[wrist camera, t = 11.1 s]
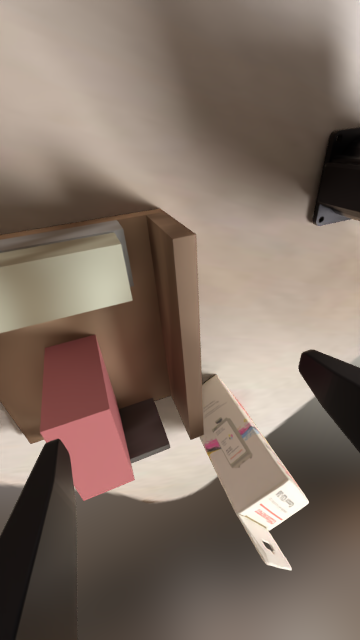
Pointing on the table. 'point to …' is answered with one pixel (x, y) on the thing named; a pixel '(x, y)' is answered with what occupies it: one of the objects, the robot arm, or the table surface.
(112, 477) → the tall dusty pink block
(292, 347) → the table surface
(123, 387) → the shelf
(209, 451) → the ink cartridge box
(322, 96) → the table surface
